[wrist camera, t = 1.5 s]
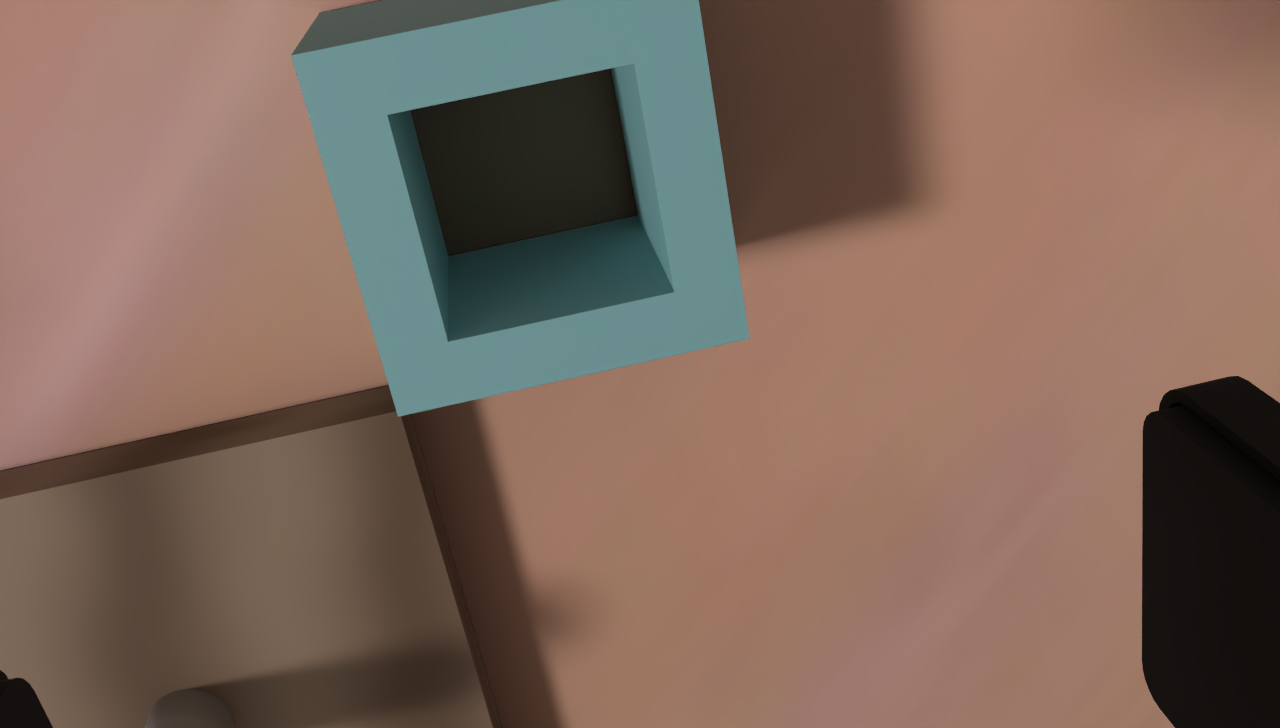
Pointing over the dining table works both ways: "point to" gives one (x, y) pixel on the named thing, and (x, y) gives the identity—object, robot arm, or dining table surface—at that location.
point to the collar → (542, 266)
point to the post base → (241, 579)
